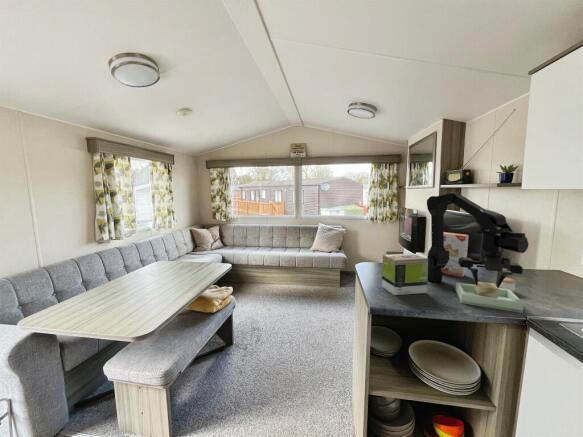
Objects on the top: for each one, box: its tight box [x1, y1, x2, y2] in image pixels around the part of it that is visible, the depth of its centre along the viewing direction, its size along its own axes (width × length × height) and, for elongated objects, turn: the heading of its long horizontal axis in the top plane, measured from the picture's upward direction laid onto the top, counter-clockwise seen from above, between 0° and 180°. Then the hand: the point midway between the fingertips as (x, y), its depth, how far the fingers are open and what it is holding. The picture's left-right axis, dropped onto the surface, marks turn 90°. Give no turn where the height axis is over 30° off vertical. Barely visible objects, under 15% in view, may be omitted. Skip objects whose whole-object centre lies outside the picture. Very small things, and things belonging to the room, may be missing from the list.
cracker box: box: [441, 231, 469, 278], centre depth 131 cm, size 14×6×21 cm, turn 43°
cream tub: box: [499, 277, 516, 294], centre depth 108 cm, size 6×6×5 cm
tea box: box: [381, 253, 429, 296], centre depth 107 cm, size 15×10×15 cm
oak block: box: [474, 280, 499, 298], centre depth 98 cm, size 6×6×5 cm
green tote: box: [455, 282, 525, 314], centre depth 98 cm, size 18×14×4 cm
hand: (486, 286), depth 98 cm, fingers closed on oak block, 6 cm apart
